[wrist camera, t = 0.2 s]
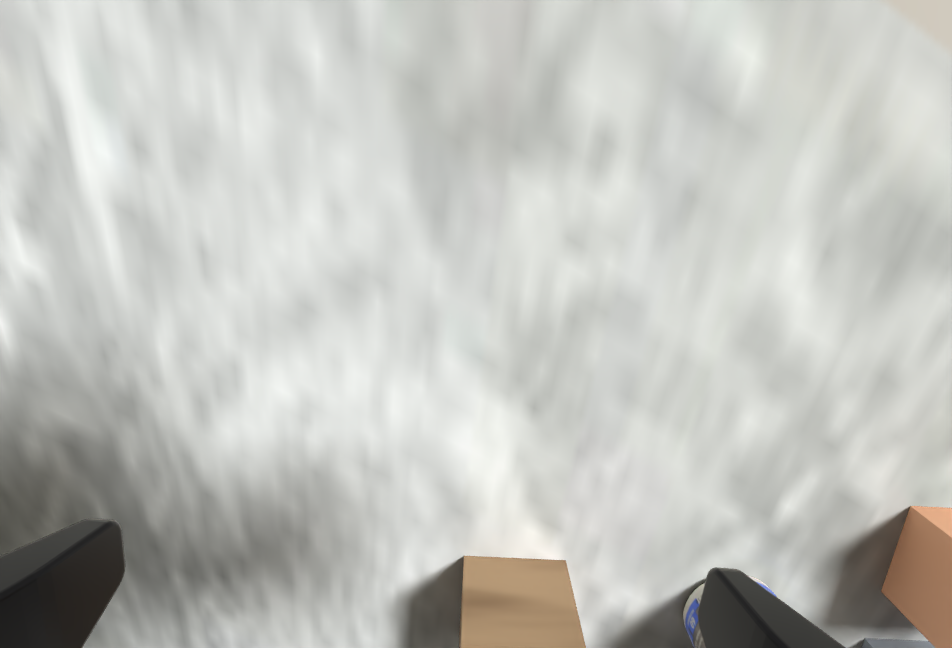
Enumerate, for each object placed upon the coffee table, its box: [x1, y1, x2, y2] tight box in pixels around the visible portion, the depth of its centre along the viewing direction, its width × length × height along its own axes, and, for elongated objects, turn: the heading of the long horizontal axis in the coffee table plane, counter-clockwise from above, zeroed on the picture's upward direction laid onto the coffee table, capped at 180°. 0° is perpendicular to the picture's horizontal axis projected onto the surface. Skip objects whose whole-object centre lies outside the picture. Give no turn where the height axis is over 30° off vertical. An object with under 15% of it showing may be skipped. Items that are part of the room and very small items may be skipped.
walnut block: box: [459, 556, 586, 648], centre depth 24 cm, size 5×5×5 cm
